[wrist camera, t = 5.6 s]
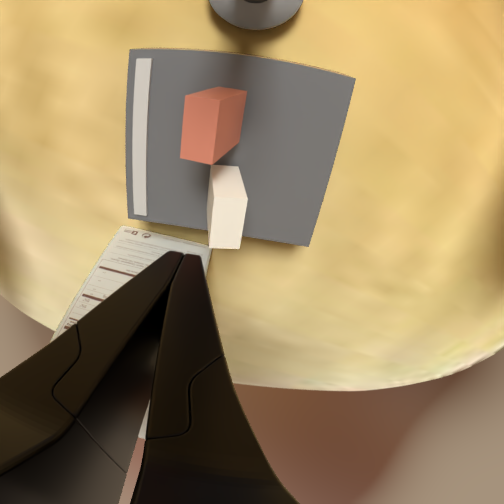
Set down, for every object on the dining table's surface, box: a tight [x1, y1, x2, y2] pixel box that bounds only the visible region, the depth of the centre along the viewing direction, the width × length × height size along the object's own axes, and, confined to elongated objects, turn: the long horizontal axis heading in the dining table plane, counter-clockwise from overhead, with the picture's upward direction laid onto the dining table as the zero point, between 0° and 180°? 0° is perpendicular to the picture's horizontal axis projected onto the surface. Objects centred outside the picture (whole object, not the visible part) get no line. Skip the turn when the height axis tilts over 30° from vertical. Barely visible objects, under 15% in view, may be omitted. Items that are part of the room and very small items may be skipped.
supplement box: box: [50, 226, 212, 439], centre depth 19 cm, size 7×7×13 cm
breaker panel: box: [126, 48, 356, 247], centre depth 16 cm, size 11×10×3 cm
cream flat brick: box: [207, 165, 248, 249], centre depth 15 cm, size 1×3×4 cm, turn 171°
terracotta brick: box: [180, 87, 247, 165], centre depth 13 cm, size 1×3×4 cm, turn 171°
